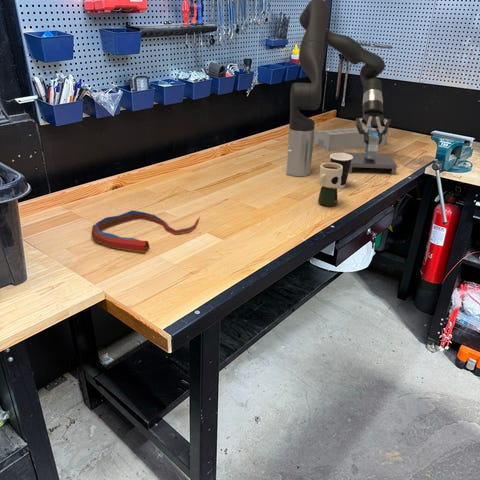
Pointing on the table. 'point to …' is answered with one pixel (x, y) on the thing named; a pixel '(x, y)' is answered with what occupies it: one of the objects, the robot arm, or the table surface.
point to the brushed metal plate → (373, 162)
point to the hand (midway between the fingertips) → (373, 142)
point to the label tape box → (372, 145)
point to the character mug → (329, 182)
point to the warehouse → (343, 139)
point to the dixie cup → (345, 162)
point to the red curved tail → (129, 243)
